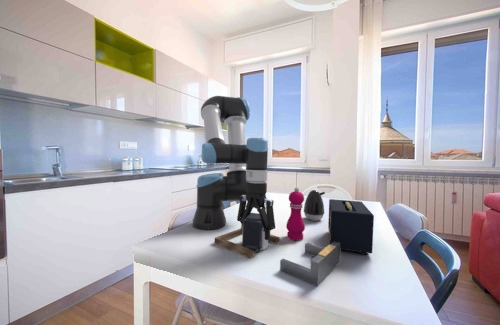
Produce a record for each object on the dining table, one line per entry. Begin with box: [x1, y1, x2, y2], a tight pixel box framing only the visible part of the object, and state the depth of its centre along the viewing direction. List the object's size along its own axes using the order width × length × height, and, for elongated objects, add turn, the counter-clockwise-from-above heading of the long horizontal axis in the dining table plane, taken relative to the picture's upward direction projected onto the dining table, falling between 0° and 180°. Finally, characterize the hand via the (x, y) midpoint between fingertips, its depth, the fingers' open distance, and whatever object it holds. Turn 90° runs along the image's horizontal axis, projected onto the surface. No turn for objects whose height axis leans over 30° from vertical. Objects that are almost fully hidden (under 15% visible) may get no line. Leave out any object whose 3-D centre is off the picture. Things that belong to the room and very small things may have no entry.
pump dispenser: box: [303, 189, 326, 222], centre depth 112 cm, size 10×10×15 cm
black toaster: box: [327, 198, 375, 255], centre depth 83 cm, size 22×13×15 cm, turn 162°
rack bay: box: [279, 241, 341, 287], centre depth 64 cm, size 11×17×6 cm, turn 140°
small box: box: [241, 212, 264, 253], centre depth 78 cm, size 11×6×10 cm, turn 164°
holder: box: [214, 227, 280, 259], centre depth 81 cm, size 17×17×2 cm
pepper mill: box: [285, 187, 306, 241], centre depth 87 cm, size 7×7×20 cm
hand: (254, 244), depth 78 cm, fingers closed on small box, 8 cm apart
